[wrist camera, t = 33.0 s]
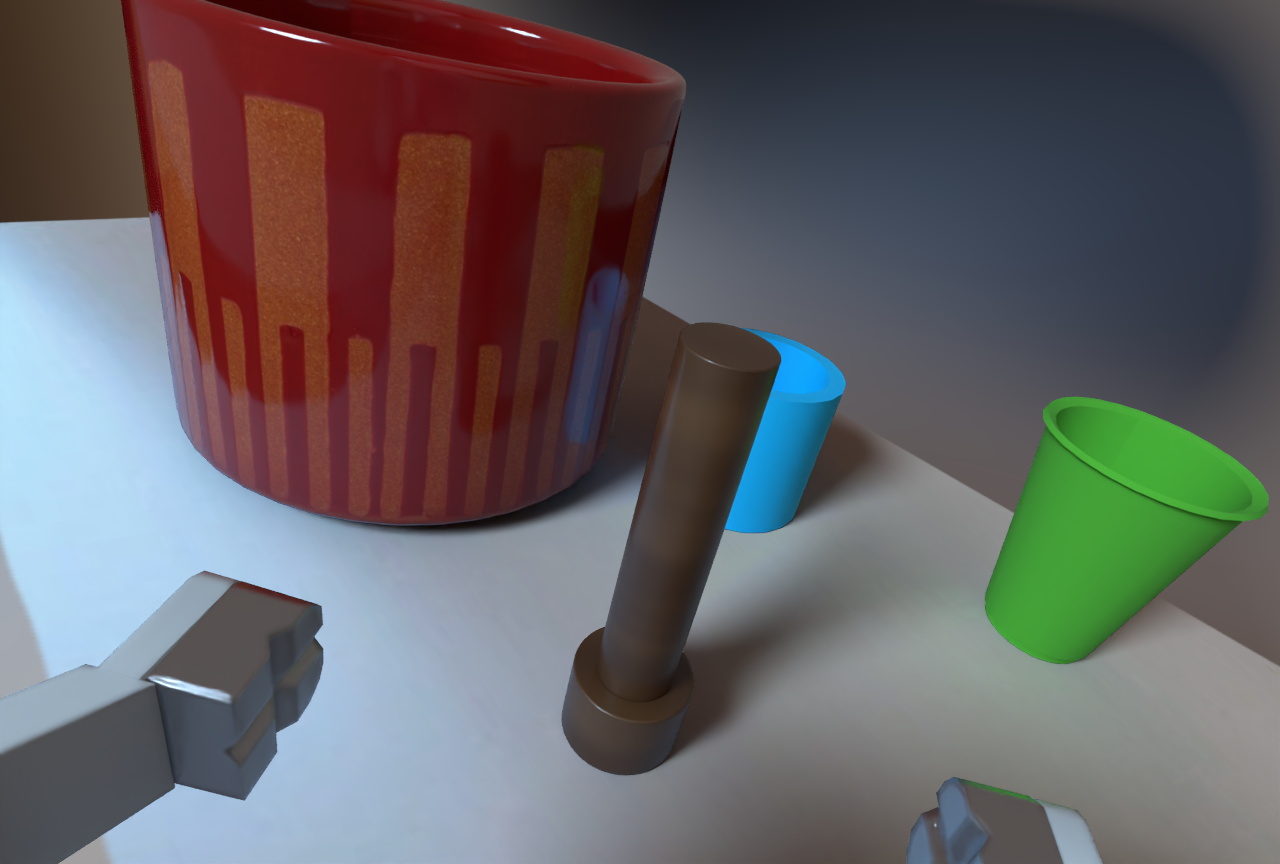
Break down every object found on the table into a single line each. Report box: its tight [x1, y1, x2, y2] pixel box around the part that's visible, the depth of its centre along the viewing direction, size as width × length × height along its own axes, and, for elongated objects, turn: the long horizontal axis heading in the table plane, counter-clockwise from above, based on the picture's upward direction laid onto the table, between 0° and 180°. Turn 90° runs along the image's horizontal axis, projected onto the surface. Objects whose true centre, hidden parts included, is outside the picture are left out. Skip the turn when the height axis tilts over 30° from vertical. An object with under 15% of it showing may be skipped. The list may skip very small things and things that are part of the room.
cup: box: [985, 397, 1269, 664], centre depth 35 cm, size 9×9×11 cm
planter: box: [121, 0, 686, 526], centre depth 38 cm, size 23×23×20 cm
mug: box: [725, 328, 846, 533], centre depth 42 cm, size 12×8×8 cm
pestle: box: [562, 323, 781, 775], centre depth 24 cm, size 4×4×16 cm
